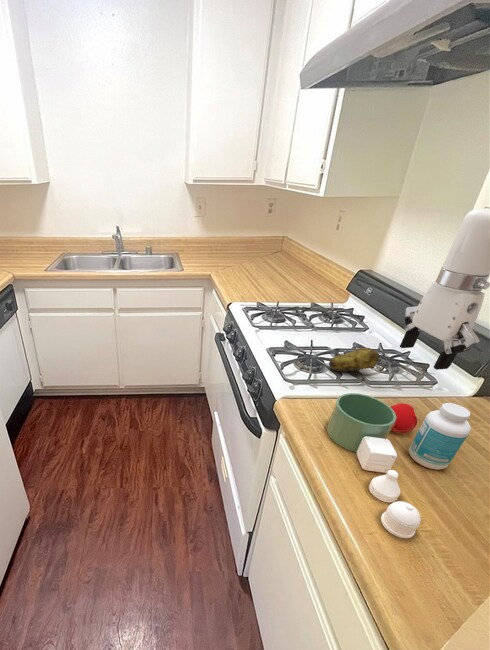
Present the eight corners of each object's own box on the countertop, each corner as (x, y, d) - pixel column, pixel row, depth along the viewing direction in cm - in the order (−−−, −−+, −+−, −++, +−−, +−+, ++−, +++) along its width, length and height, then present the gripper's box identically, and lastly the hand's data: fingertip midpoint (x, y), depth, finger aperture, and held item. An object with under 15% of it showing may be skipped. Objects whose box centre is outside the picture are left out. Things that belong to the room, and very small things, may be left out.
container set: (354, 454, 76) (363, 435, 73) (379, 457, 76) (389, 438, 73) (386, 535, 60) (399, 515, 57) (419, 540, 59) (434, 521, 56)
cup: (392, 440, 80) (406, 413, 76) (363, 461, 75) (377, 433, 70) (345, 413, 88) (355, 387, 84) (316, 430, 83) (325, 403, 78)
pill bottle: (455, 469, 73) (490, 419, 66) (425, 473, 72) (456, 423, 65) (427, 445, 79) (456, 397, 72) (399, 448, 78) (425, 400, 71)
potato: (328, 360, 112) (335, 337, 108) (372, 369, 108) (381, 346, 103) (326, 372, 106) (334, 348, 101) (373, 382, 101) (383, 358, 97)
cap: (413, 441, 80) (424, 421, 77) (384, 433, 82) (394, 413, 79) (409, 421, 87) (419, 402, 83) (382, 414, 89) (391, 395, 85)
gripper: (521, 294, 61) (471, 376, 70) (440, 267, 75) (408, 339, 84) (485, 295, 59) (439, 379, 69) (410, 268, 74) (380, 341, 83)
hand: (422, 357), depth 77 cm, fingers open, 9 cm apart
